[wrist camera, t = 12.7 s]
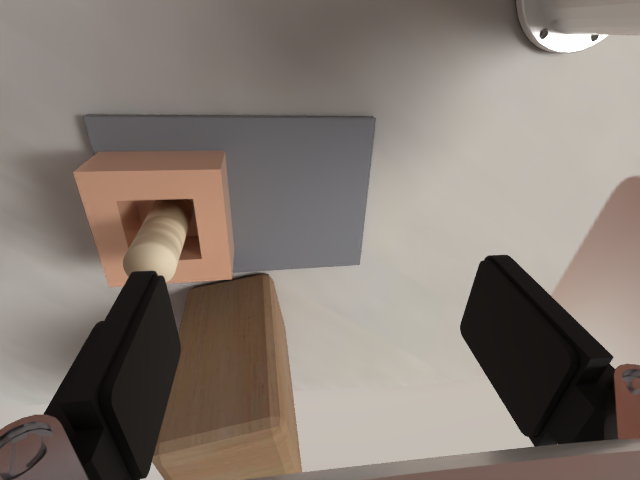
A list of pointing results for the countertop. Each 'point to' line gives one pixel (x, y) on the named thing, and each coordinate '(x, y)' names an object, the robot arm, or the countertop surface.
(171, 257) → the birch dowel
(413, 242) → the countertop surface
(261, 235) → the charcoal mat
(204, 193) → the terracotta box
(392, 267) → the countertop surface
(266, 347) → the wooden block
